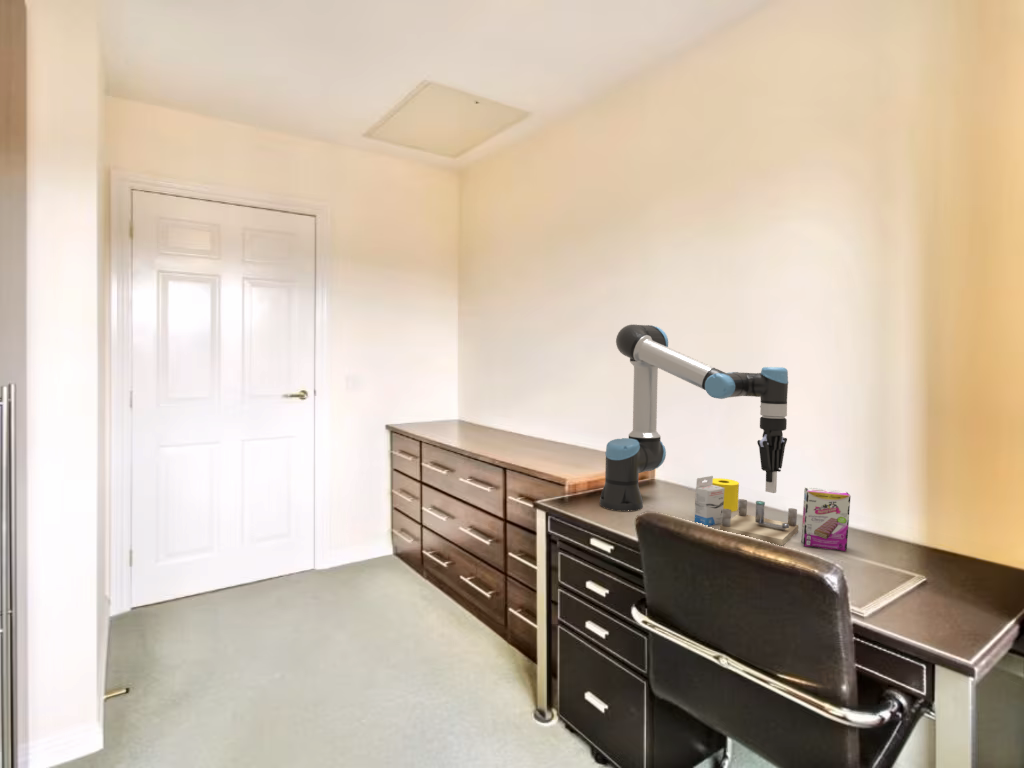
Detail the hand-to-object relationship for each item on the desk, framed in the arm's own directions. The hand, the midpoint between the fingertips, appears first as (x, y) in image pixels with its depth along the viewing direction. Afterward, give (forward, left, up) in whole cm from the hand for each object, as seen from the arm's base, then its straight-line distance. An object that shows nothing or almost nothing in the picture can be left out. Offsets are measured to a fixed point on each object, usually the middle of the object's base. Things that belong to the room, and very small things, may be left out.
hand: (770, 491), depth 174 cm
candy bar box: (+16, -5, -12) cm, 21 cm away
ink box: (-17, -6, -12) cm, 22 cm away
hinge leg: (+2, -4, -10) cm, 11 cm away
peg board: (-2, -4, -12) cm, 13 cm away
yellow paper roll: (-20, +15, -12) cm, 28 cm away
